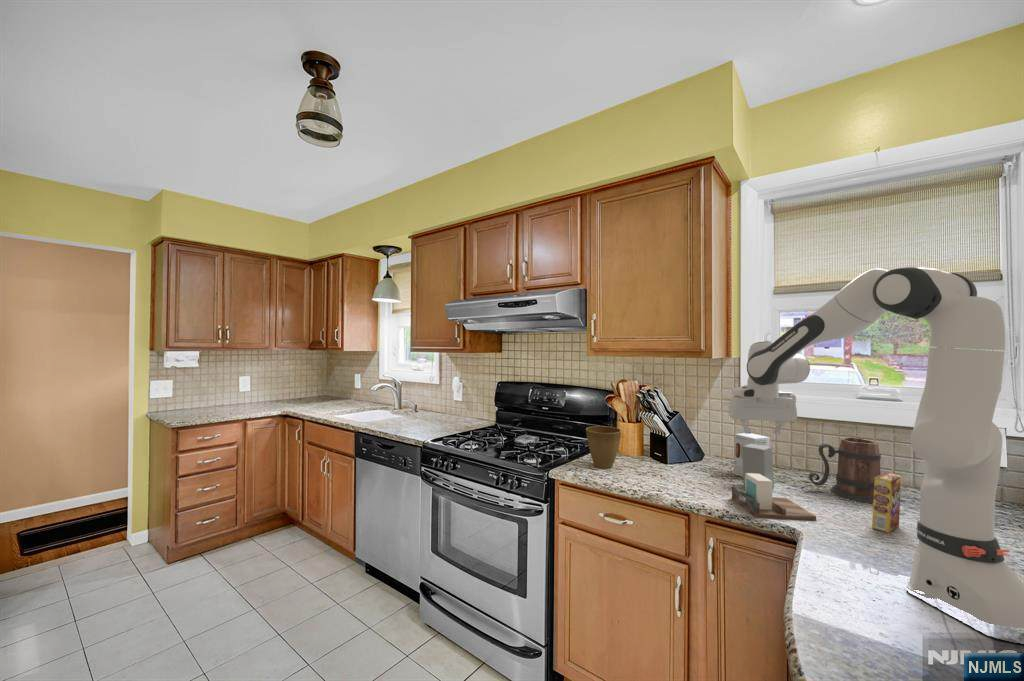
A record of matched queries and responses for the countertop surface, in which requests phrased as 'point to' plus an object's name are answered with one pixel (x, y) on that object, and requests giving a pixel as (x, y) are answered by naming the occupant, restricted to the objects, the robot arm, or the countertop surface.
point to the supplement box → (746, 439)
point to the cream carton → (759, 489)
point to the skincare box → (758, 461)
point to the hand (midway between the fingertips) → (762, 433)
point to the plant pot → (603, 445)
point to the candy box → (886, 502)
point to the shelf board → (780, 507)
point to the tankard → (853, 469)
